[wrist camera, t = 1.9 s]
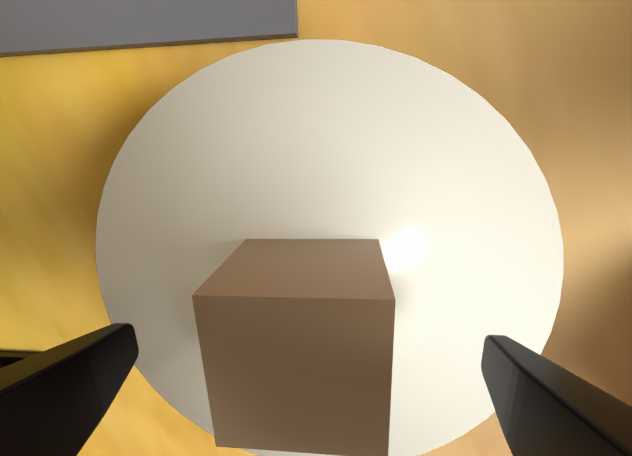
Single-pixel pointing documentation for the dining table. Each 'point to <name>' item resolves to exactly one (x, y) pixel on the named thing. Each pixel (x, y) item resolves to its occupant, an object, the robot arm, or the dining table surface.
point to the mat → (138, 23)
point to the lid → (326, 249)
